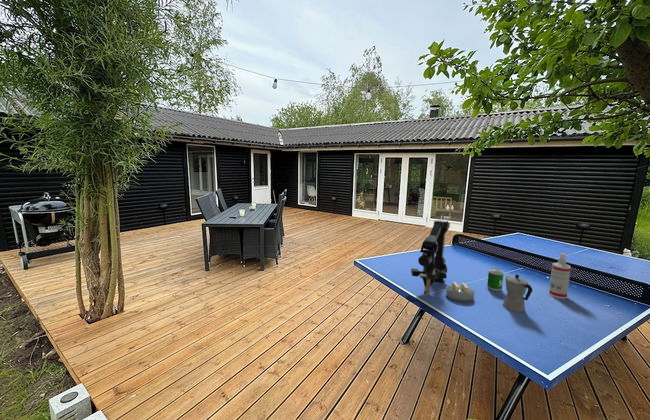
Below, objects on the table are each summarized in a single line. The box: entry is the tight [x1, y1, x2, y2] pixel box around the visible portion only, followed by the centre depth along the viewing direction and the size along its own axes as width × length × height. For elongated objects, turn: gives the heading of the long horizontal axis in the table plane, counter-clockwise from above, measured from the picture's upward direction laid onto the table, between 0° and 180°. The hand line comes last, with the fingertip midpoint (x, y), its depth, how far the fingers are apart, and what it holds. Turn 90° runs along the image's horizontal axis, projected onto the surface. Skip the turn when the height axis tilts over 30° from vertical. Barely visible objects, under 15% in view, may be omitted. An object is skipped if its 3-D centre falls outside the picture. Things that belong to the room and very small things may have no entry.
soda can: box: [486, 268, 505, 292], centre depth 154 cm, size 8×8×12 cm
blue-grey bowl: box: [445, 281, 475, 303], centre depth 145 cm, size 14×14×7 cm
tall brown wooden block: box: [424, 275, 431, 295], centre depth 150 cm, size 5×2×9 cm, turn 169°
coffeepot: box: [502, 274, 533, 313], centre depth 131 cm, size 15×9×18 cm, turn 6°
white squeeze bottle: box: [548, 252, 572, 300], centre depth 145 cm, size 8×8×25 cm
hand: (427, 287), depth 150 cm, fingers closed on tall brown wooden block, 2 cm apart
